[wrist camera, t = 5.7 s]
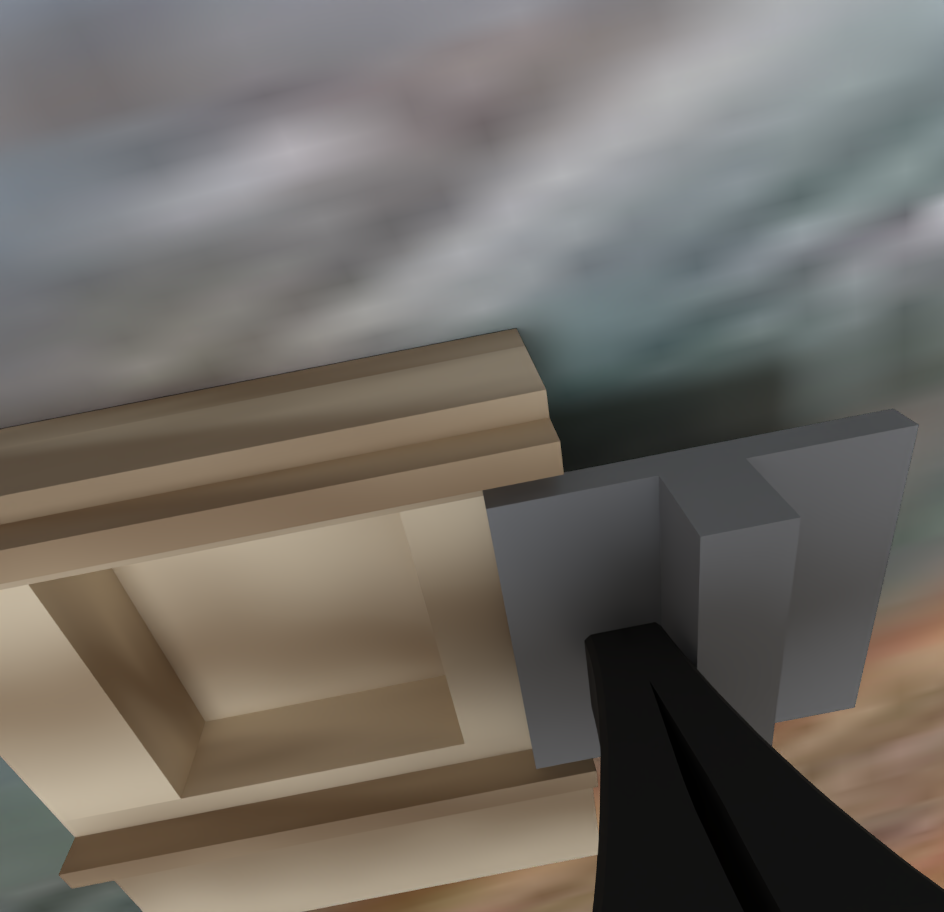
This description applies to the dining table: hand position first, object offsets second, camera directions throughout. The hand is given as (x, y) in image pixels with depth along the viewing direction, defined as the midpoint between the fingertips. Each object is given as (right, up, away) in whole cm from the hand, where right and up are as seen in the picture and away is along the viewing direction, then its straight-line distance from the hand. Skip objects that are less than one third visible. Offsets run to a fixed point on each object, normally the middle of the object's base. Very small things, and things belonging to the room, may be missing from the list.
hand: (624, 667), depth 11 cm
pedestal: (-7, -1, +5) cm, 8 cm away
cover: (+1, +1, +1) cm, 2 cm away
